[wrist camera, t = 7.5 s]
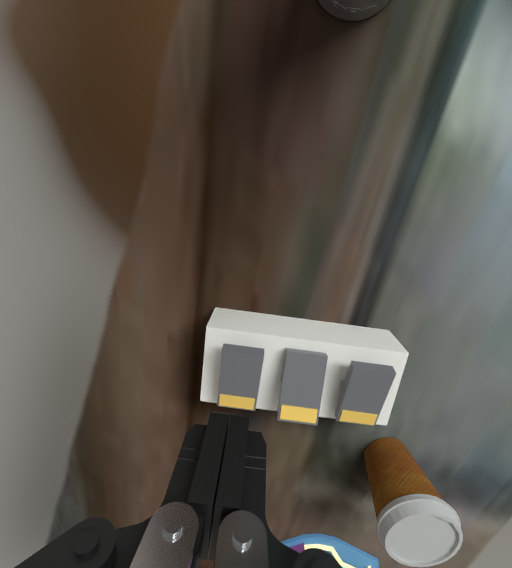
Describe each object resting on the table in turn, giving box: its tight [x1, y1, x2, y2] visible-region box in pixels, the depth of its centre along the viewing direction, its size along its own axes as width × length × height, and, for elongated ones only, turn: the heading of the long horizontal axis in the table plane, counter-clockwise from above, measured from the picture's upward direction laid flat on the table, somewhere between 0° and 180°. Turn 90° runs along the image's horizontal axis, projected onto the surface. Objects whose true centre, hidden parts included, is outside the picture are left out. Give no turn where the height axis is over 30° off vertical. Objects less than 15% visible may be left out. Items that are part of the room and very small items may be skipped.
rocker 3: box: [335, 361, 396, 426], centre depth 34 cm, size 8×4×1 cm, turn 173°
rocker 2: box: [277, 348, 328, 426], centre depth 34 cm, size 8×4×1 cm, turn 172°
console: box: [200, 307, 409, 425], centre depth 39 cm, size 10×23×7 cm, turn 83°
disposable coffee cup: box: [364, 438, 463, 567], centre depth 40 cm, size 10×10×12 cm
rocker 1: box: [217, 343, 264, 411], centre depth 34 cm, size 8×4×1 cm, turn 173°
